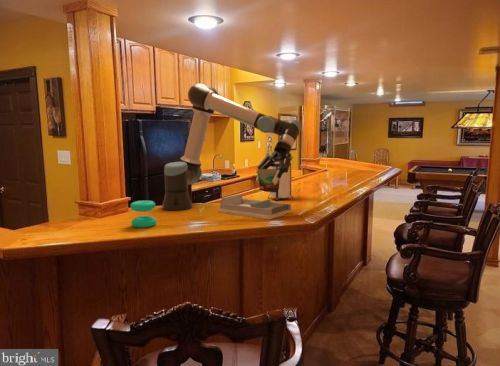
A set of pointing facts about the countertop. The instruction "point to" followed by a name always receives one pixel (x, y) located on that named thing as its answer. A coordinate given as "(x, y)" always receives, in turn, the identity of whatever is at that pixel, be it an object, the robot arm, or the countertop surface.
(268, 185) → the food container
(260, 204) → the pusher paddle
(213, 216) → the countertop surface
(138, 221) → the donuts
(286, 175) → the coffee press
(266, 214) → the pusher lane
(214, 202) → the countertop surface
